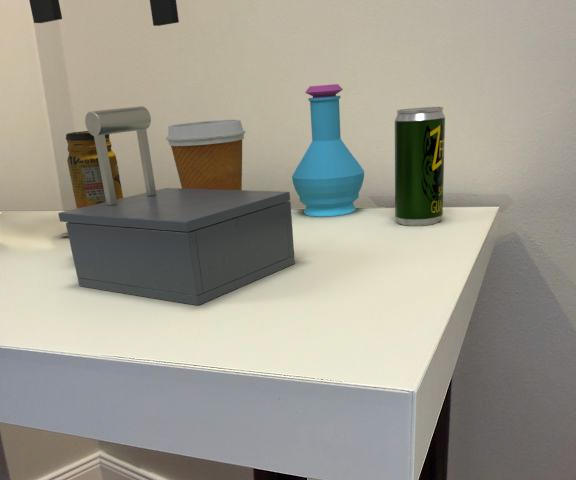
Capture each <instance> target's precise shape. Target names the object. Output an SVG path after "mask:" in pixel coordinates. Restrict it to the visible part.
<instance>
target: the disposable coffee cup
mask: <svg viewBox="0 0 576 480" xmlns="http://www.w3.org/2000/svg"><path fill="white" fill-rule="evenodd" d="M167 127H168V128H167V129H168V130H167V136H166V137H165V139H166V141H167V142H168V145H169V146H170V148H171V152H172V155H173V160H174V164H175V166H176V170H177V174H178V178H179V179H178V180H179V183H180V187H181V188H182V189H215V190H243V189H242V187H243V140H244V139H245V134H246V130H244V128H243V125H242V121H241V119H220V120H205V121H196V122H186V123H177V124H172V125H168V126H167Z"/></svg>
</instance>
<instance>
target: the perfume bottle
mask: <svg viewBox="0 0 576 480" xmlns="http://www.w3.org/2000/svg"><path fill="white" fill-rule="evenodd" d="M342 91H344V88H342V86H341V85H340V84H338V83H335V84H322V85H321V84H320V85H312V86H308V88H307V89H306V90H305V92H304V93H305V94H307V95H309V96H311V97H308V98H307V100H308V102H309V107H310V109H309V110H310V124H311V125H310V126H311V142H310V144H309V146H308V148H306V149H307V150H306V151H305V152H304V154H303V157H302V159H301V160H300V161H299V163H298V165H297V167H296V168H295V170H294V172H293V173H292V176H291V179H292V184H293V187H294V190H295V192H296V194H297V196H298V197H299V202H300V203H301V204H302V205H304V206H305V208H304V212H303V213H304V215H306V216H309V217H336V216H337V217H338V216H344V215H348V214H351V213H354V212H356V206H355V205H354V202H356V201H357V199H359V195H360V191H361V189H362V187H363V183H364V179H365V170H364V168H363V167H362V165H361V164H360V163H359V162H358V160H357V158H355V156H354V155H353V154H352V153H351V151H350V150H349V148H348V147H347V146H346V144H345V143H344V141H343V140H342V137H341V115H340V114H341V113H340V111H341V110H340V99H341V95H337V94H339V93H341V92H342Z"/></svg>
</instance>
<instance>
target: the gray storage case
mask: <svg viewBox="0 0 576 480" xmlns="http://www.w3.org/2000/svg"><path fill="white" fill-rule="evenodd" d="M292 216H293V215H292V204H291V200H290V201H287V202H284V203H280V204H277V205H274V206H271V207H267V208H264V209H261V210H258V211H255V212H251V213H248V214H245V215H242V216H238V217H235V218H232V219H229V220H225V221H222V222H219V223H216V224H212V225H209V226H206V227H203V228H199V229H196V230H193V231H190V232H181V231H169V230H157V229H144V228H132V227H120V226H107V225H95V224H83V223H70V222H65V227H66V231H67V232H68V236H67V237H68V240H69V245H70V250H71V254H72V259H73V263H74V268H75V273H76V277H77V282H78V286H79V287H83V288H89V289H96V290H101V291H107V292H113V293H121V294H126V295H132V296H133V295H134V296H139V297H145V298H151V299H157V300H164V301H169V302H175V303H182V304H189V305H194V306H200V305H202V304H205V303H207V302H210V301H212V300H214V299H216V298H218V297H221V296H223V295H226V294H227V293H230V292H233V291H235V290H237V289H239V288H241V287H244V286H246V285H248V284H251V283H253V282H255V281H258V280H260V279H263V278H265V277H267V276H270V275H272V274H274V273H277V272H279V271H281V270H283V269H285V268H288V267H290V266H293V265H294V264H296V262H295V261H296V260H295V245H294V232H293V230H294V229H293V217H292ZM67 232H66V233H67Z"/></svg>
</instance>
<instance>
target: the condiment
mask: <svg viewBox="0 0 576 480" xmlns="http://www.w3.org/2000/svg"><path fill="white" fill-rule="evenodd" d="M105 139H106V144H107V150H108V156H109V161H110V167H111V172H112V178H113V183H114V189H115V194H116V199H121V198H124V194H123V188H122V183H121V177H120V171H119V166H118V159H117V156H116V153H115V152H114V151H113V149H112V145H113V144H112V141H111V140H110V139H111V138H110V134H107V135H105ZM65 140H66V143H67V149H66V150H67V152H68V156H67V160H66V162H67V166H68V167H67V168H68V171H69V177H70V182H71V187H72V191H73V197H74V202H75V206H76V209H77V208H82V207H86V206H90V205H95V204H99V203H103V202H106V198H105V193H104V188H103V182H102V177H101V171H100V166H99V161H98V155H97V150H96V145H95V139H94V136H93V135H91V134H90V133H89V132H88V130H84V131H82V130H81V131H73V132H67V133H66V134H65ZM59 236H65V237H69V236H68V232H63V233H61V234H59Z"/></svg>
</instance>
